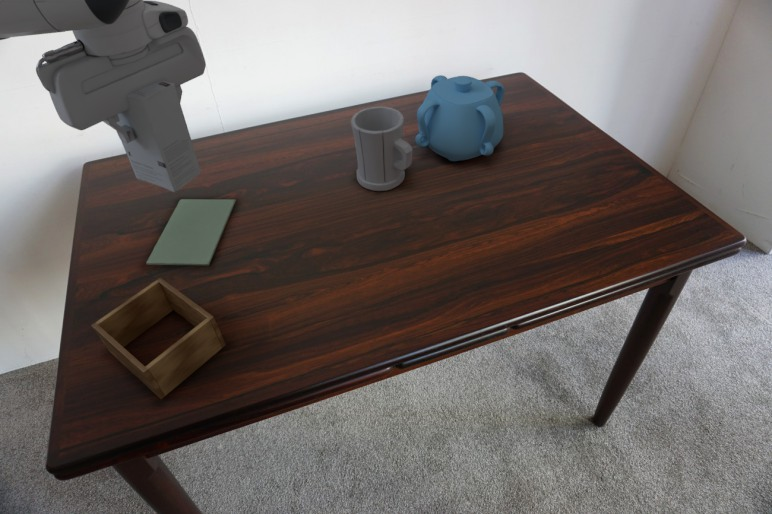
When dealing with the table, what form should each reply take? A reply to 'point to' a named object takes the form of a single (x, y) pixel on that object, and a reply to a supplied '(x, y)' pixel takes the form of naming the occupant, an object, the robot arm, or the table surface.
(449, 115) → the decorative pot
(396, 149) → the cup
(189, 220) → the mat
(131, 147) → the cosmetic box
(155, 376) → the wooden box
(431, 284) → the table surface
